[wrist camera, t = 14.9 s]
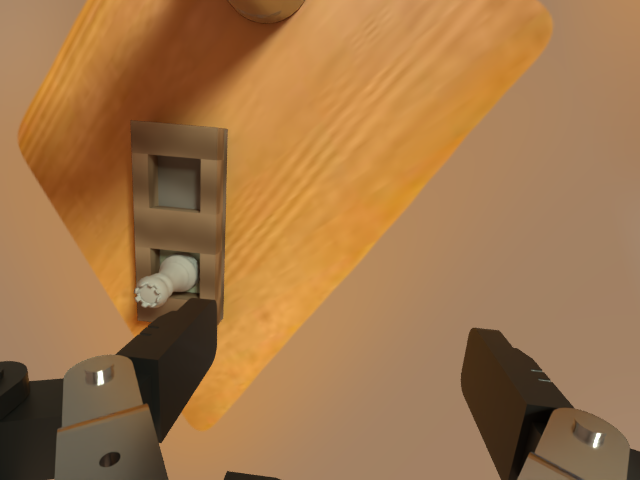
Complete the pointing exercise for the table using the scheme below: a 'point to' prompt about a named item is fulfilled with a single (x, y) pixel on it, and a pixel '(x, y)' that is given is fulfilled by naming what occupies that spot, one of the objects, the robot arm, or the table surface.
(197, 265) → the rook chess piece
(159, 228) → the slot rail
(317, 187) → the table surface
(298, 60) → the table surface
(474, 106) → the table surface
